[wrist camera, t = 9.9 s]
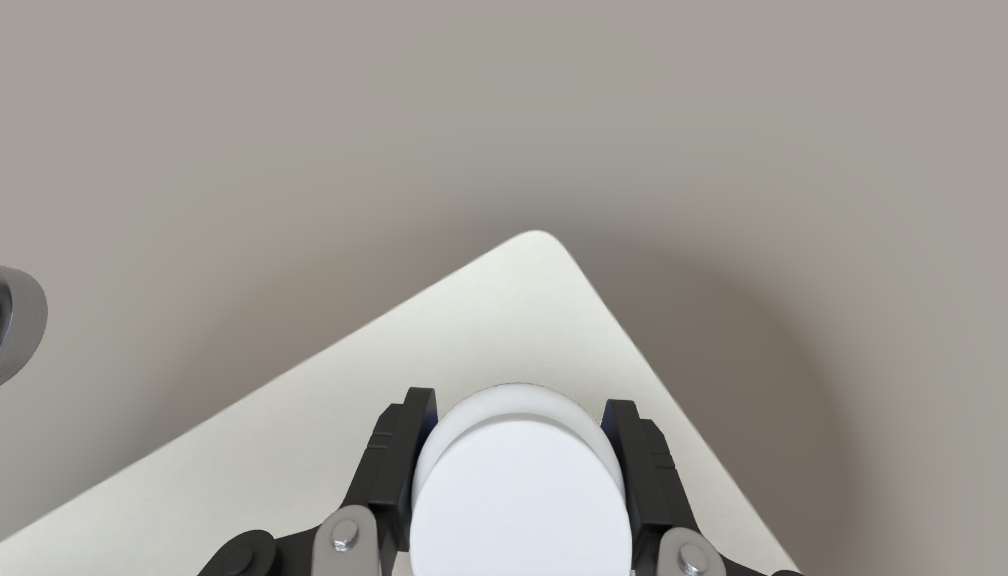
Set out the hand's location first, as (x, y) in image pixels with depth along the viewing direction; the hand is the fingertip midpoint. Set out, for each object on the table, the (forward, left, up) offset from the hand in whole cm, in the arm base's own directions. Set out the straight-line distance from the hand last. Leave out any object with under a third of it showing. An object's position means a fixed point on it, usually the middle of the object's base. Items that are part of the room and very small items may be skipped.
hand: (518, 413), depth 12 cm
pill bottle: (-1, -2, -5) cm, 5 cm away
